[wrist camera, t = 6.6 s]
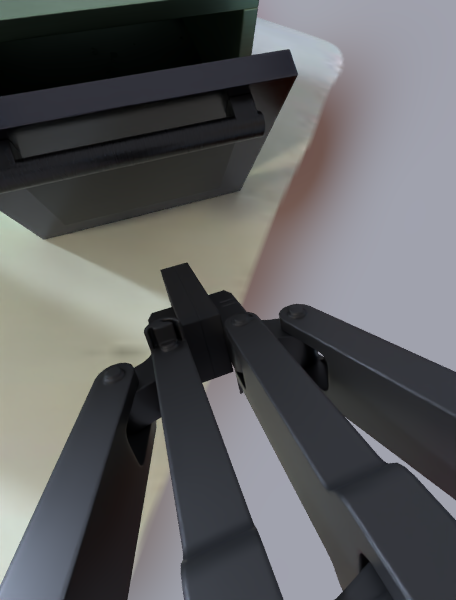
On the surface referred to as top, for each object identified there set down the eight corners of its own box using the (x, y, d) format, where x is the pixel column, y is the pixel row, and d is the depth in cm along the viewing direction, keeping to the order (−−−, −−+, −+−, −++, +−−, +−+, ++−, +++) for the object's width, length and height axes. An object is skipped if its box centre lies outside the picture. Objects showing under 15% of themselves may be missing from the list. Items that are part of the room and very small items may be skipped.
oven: (234, 176, 34) (261, -13, 19) (39, 223, 30) (-122, 33, 15) (189, 75, 38) (181, -141, 24) (16, 105, 35) (-125, -130, 20)
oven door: (247, 210, 33) (310, 110, 18) (50, 262, 30) (-85, 192, 14) (235, 176, 33) (289, 48, 18) (38, 223, 30) (-109, 113, 14)
